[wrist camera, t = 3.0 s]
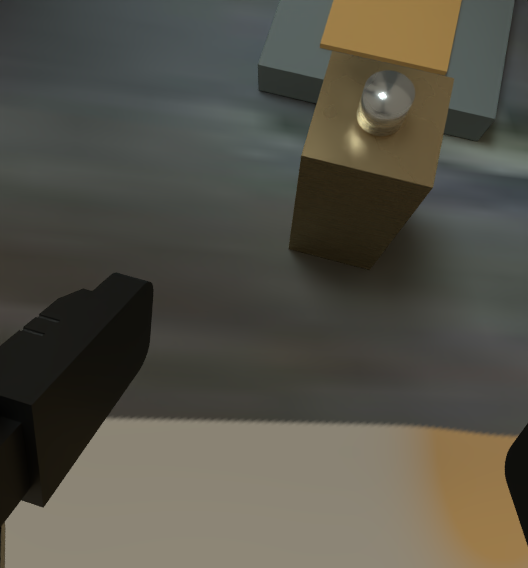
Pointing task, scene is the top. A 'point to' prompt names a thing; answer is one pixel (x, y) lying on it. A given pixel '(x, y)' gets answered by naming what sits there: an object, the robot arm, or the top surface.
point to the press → (394, 48)
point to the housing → (367, 157)
